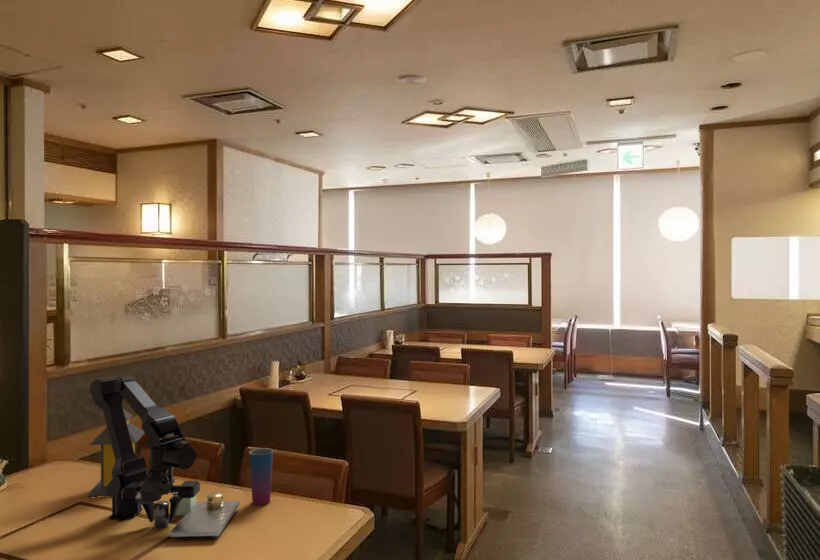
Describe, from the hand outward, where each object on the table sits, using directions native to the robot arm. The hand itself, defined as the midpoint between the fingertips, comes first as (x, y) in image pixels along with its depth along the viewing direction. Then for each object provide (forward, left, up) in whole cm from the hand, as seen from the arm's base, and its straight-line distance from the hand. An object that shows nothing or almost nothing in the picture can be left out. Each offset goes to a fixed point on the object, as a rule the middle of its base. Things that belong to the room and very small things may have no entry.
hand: (161, 521), depth 151 cm
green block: (+3, +9, -1) cm, 10 cm away
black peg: (0, 0, -1) cm, 1 cm away
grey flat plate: (+12, 0, -1) cm, 12 cm away
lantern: (-25, +29, -1) cm, 38 cm away
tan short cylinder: (+12, +7, +1) cm, 14 cm away
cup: (+23, +15, -1) cm, 27 cm away
